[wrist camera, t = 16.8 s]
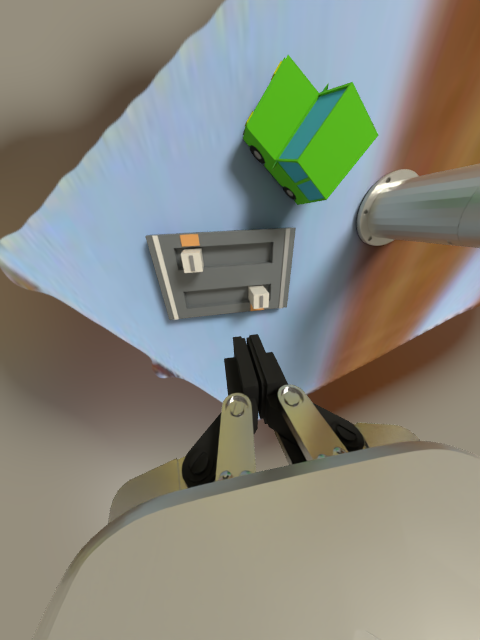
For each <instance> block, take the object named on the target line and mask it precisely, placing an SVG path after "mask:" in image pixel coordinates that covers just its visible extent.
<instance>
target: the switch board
mask: <svg viewBox="0 0 480 640" xmlns="http://www.w3.org/2000/svg"><path fill="white" fill-rule="evenodd" d="M295 229H296V228H272V229H253V230H234V231H215V232H196V233H177V234H159V235H148V236H146V240H147V243H148V247H149V250H150V254H151V257H152V261H153V264H154V268H155V271H156V275H157V278H158V281H159V285H160V288H161V292H162V295H163V299H164V302H165V306H166V309H167V313H168V316H169V320H173V319H175V320H177V319H182V318H191V317H200V316H209V315H219V314H228V313H237V312H246V311H256V310H265V309H274V308H283V307H287V301H288V292H289V283H290V274H291V265H292V256H293V247H294V238H295ZM194 248H201V249H202V256H203V263H204V267H203V272H193V273H184V268H183V263H182V258H181V253H182V252H183V250H184V249H194ZM252 285H263V286H264V288H265V289H266V290H267V291H268V292H269V307H268V308H259V309H253V307H252V305H251V303H250V301H249V299H248V286H252Z"/></svg>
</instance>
